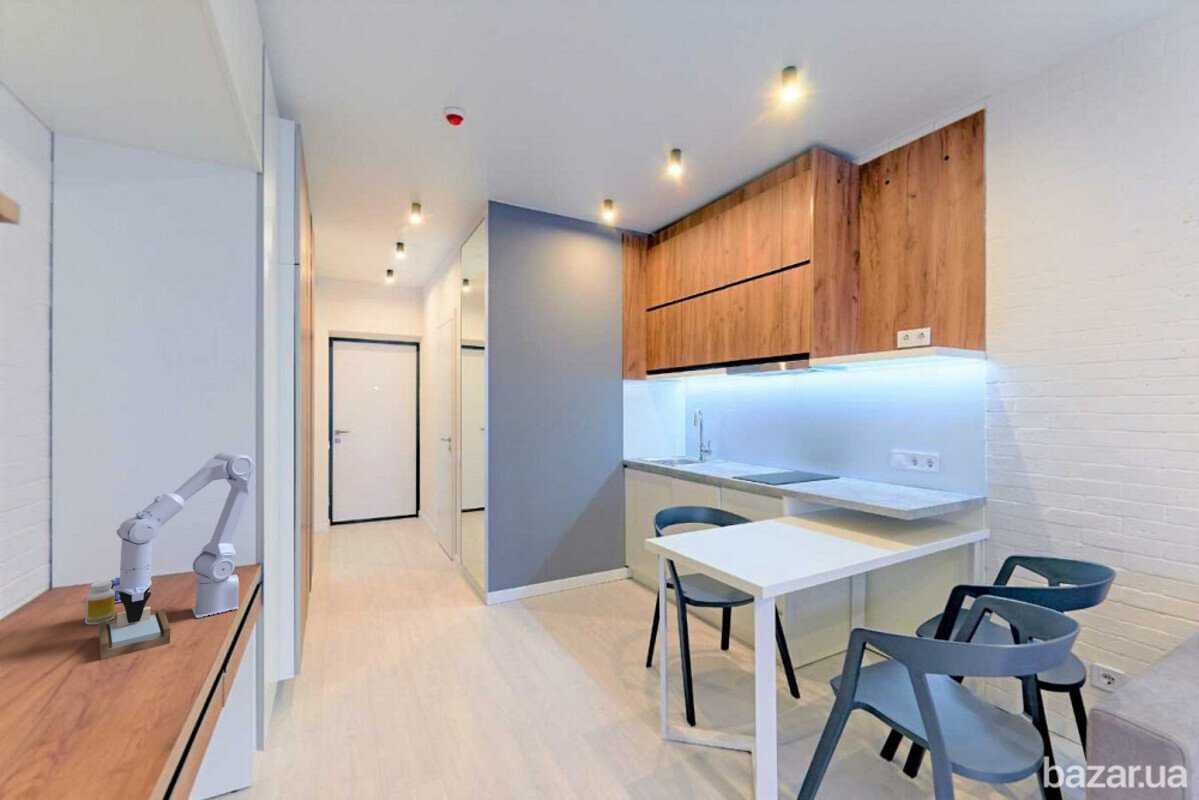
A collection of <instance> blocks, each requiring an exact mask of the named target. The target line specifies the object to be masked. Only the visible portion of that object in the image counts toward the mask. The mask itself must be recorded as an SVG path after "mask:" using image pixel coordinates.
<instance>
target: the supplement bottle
mask: <svg viewBox="0 0 1199 800" xmlns="http://www.w3.org/2000/svg"><path fill="white" fill-rule="evenodd" d="M111 587H112V582H111V580H103V581H97V582H94V583H92V584H90V588H89V591H90V592H89V593H87V595H86V598H85V610H84V611H85V613H84V623H85V624H86V625H89V626H90V625H99V622H103V621H106V622H111V620H113V619H114V617H115V603H116V602H115V591H113V589H110V588H111Z"/></svg>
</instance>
